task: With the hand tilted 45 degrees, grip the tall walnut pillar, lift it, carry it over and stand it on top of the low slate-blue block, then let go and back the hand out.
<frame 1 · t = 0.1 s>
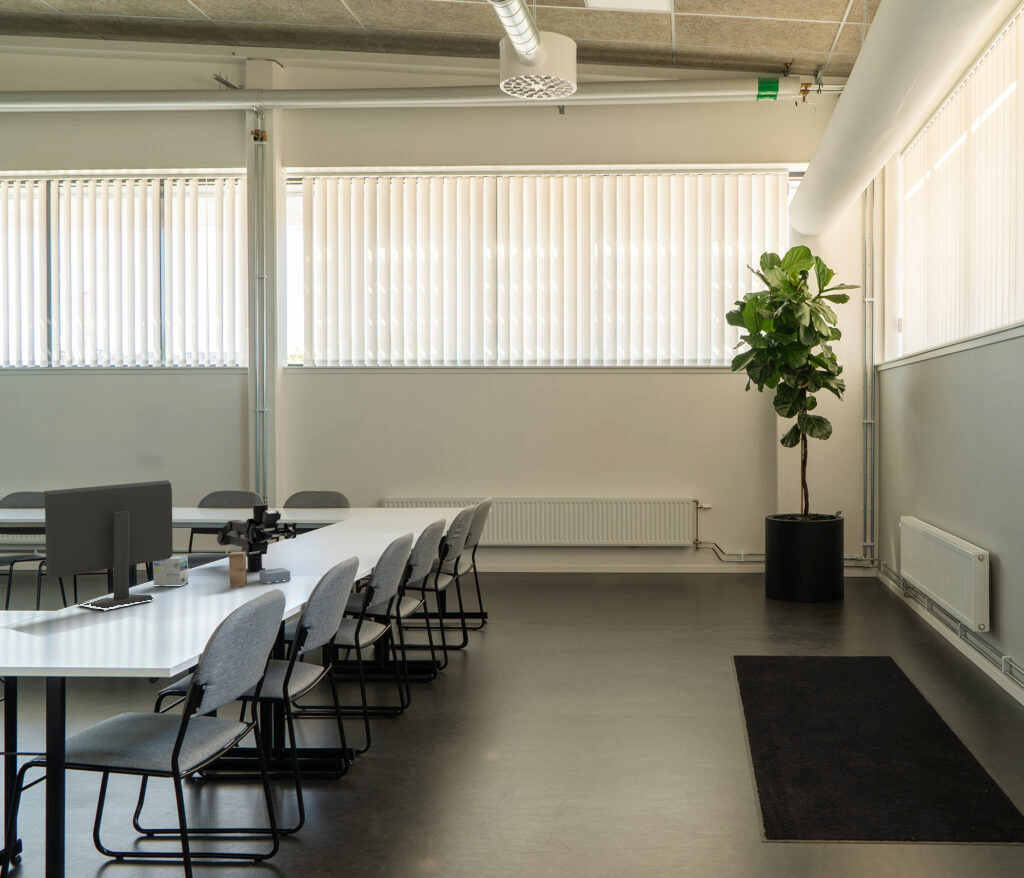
hand: (283, 534, 343), 17 cm above the table, tool horizontal, fingers open, 9 cm apart
walnut pillar: (238, 585, 330), on the table
light bulb box: (171, 586, 334), on the table
slate-blue block: (275, 581, 339), on the table
computer monitor: (115, 604, 303), on the table
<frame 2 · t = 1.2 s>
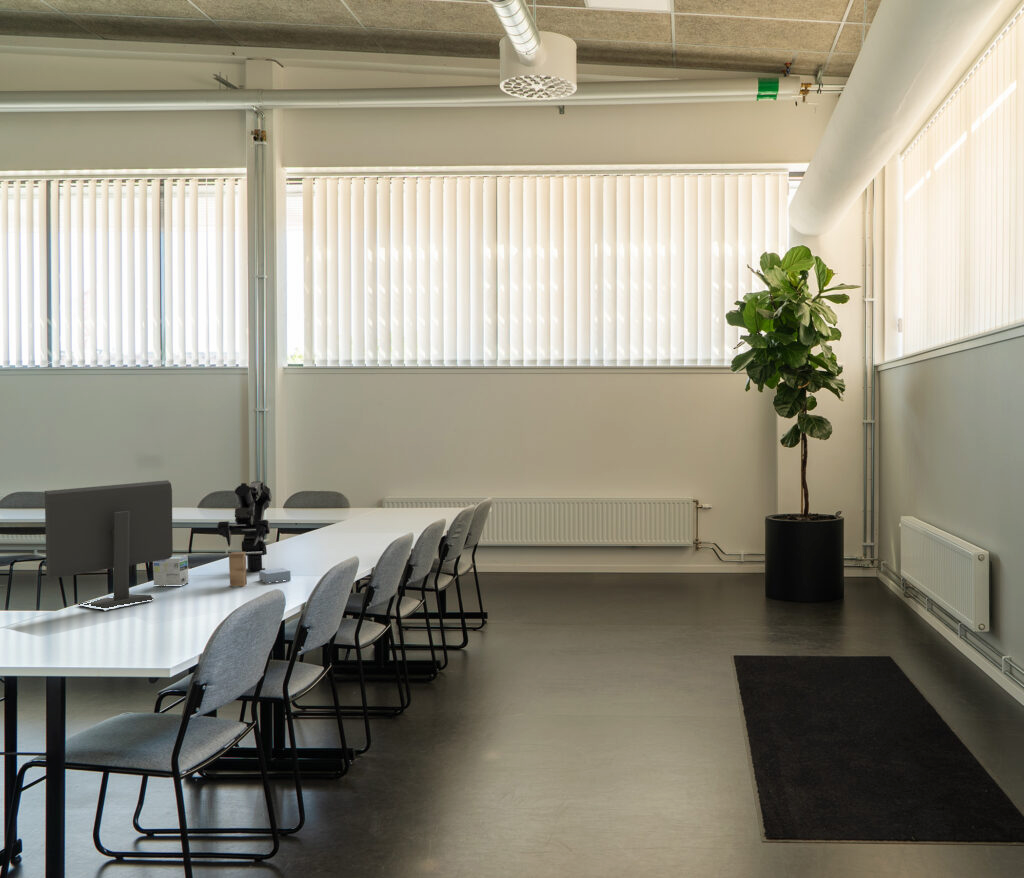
hand: (241, 545, 338), 14 cm above the table, tool tilted 45°, fingers open, 9 cm apart
nothing on the table moved.
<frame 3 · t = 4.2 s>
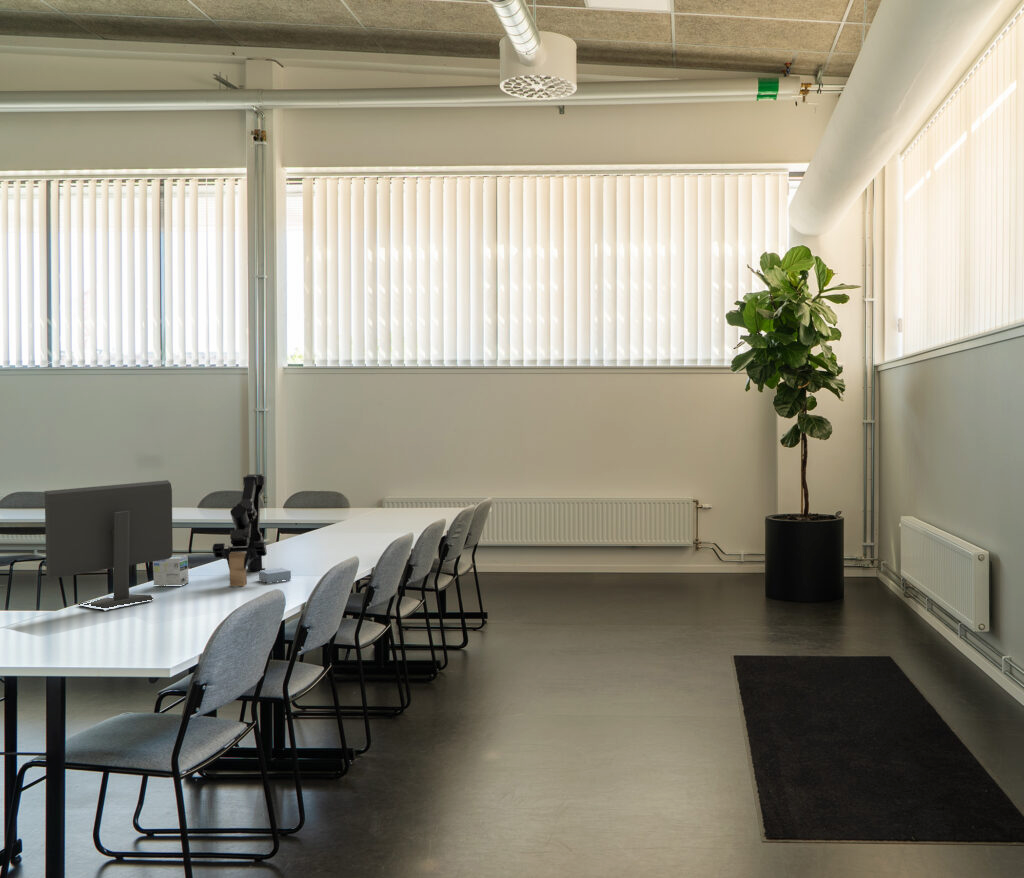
hand: (237, 568, 329), 7 cm above the table, tool tilted 45°, fingers closed on walnut pillar, 5 cm apart
walnut pillar: (238, 585, 330), on the table, touching gripper
everything else where it was.
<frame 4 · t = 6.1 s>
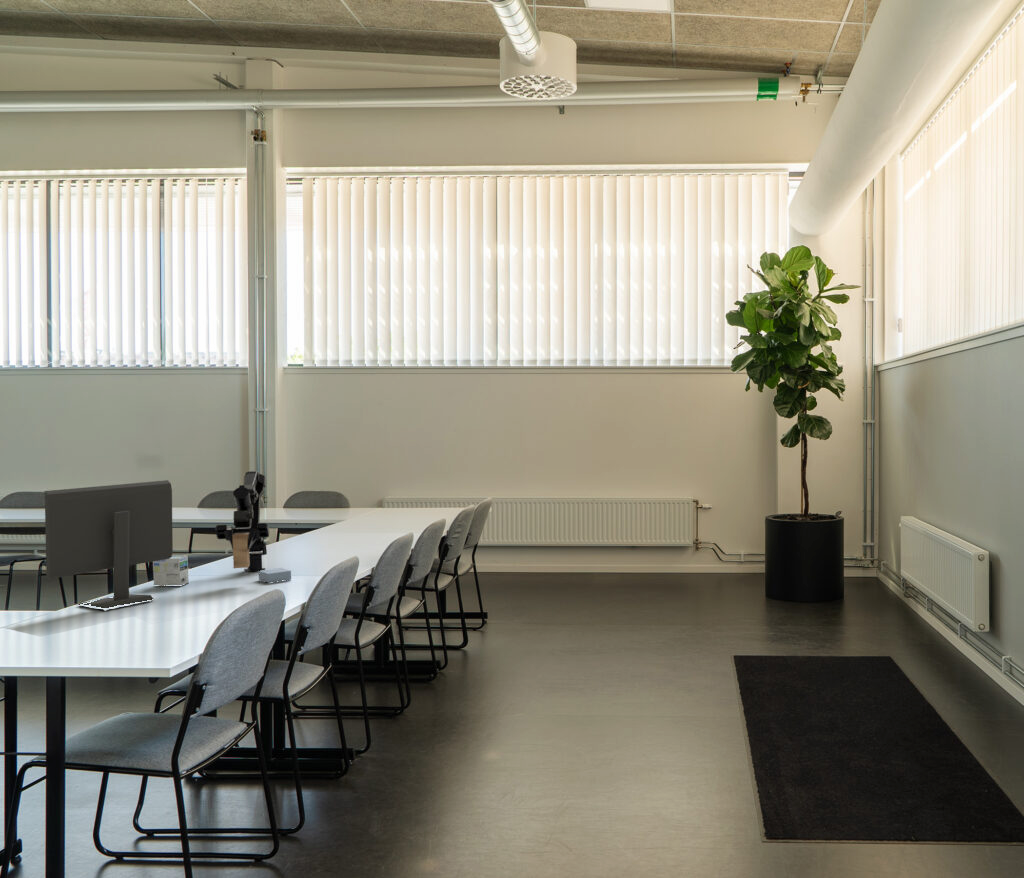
hand: (240, 549, 329), 13 cm above the table, tool tilted 45°, fingers closed on walnut pillar, 5 cm apart
walnut pillar: (241, 566, 331), point 7 cm above the table, touching gripper
everything else where it was.
when the fingers open (11 cm above the table, at t = 8.2 s): walnut pillar drops 1 cm, point 4 cm above the table.
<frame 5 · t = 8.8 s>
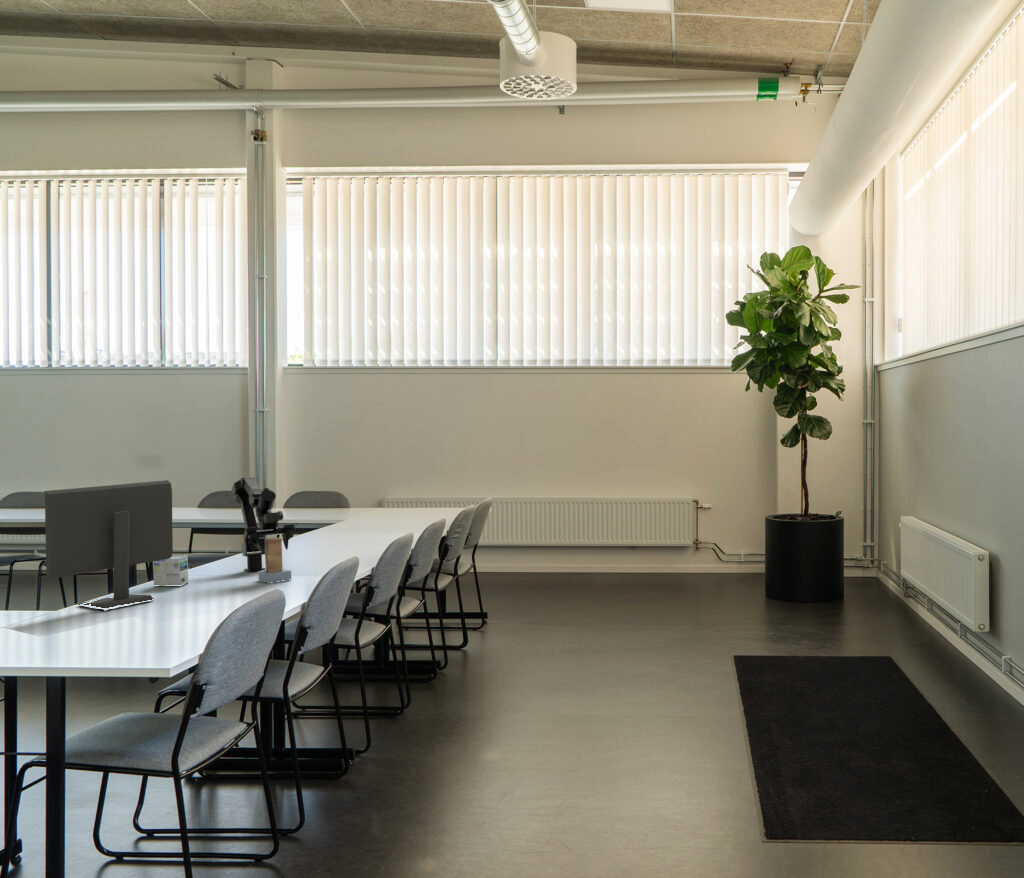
hand: (275, 550, 337), 12 cm above the table, tool tilted 45°, fingers open, 9 cm apart
walnut pillar: (274, 570, 339), point 4 cm above the table
everything else where it was.
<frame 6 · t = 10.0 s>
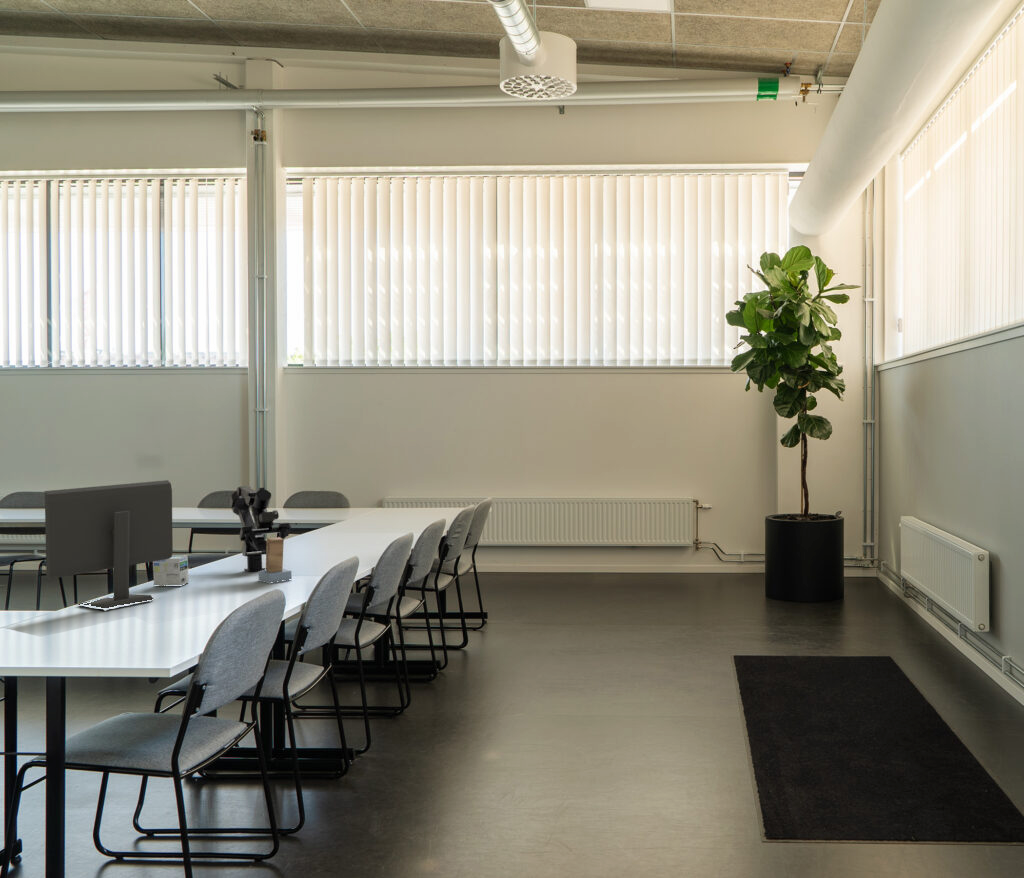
hand: (270, 548, 342), 11 cm above the table, tool tilted 45°, fingers open, 9 cm apart
walnut pillar: (273, 570, 339), point 4 cm above the table, touching slate-blue block
slate-blue block: (275, 581, 339), on the table, touching walnut pillar
everything else where it was.
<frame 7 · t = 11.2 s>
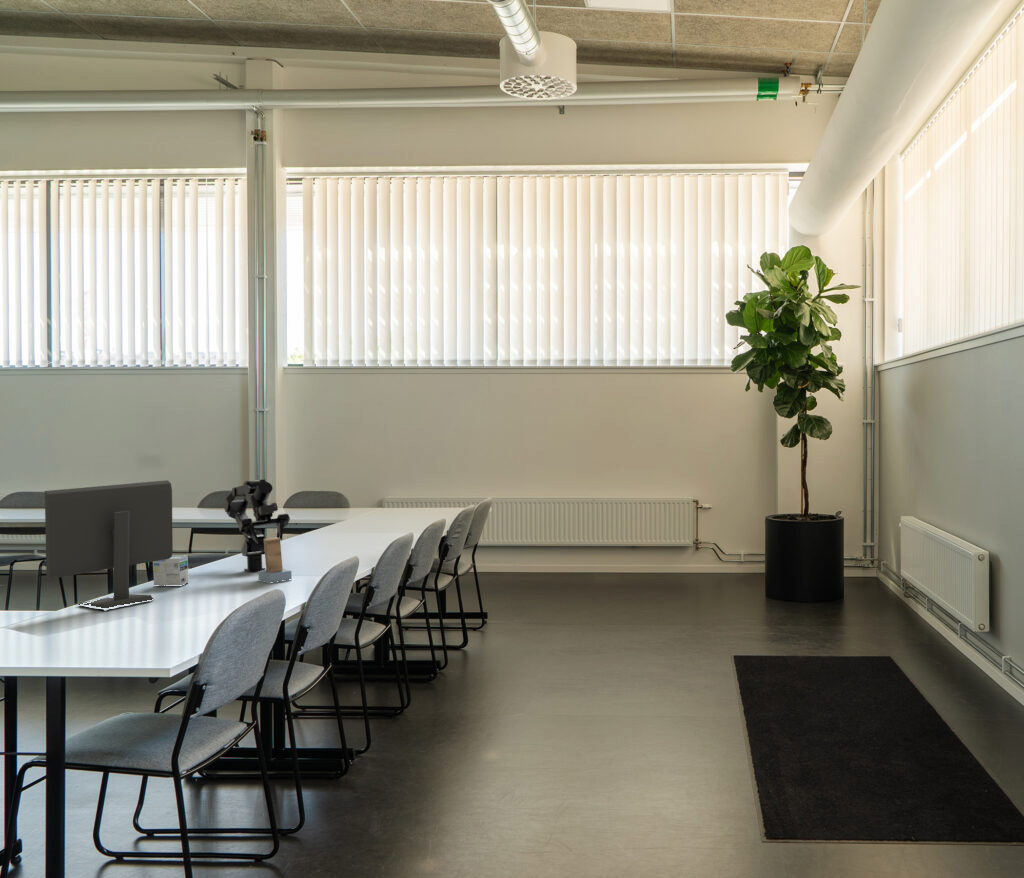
hand: (269, 541, 348), 13 cm above the table, tool tilted 35°, fingers open, 9 cm apart
walnut pillar: (274, 570, 339), point 4 cm above the table
slate-blue block: (275, 581, 339), on the table
everything else where it was.
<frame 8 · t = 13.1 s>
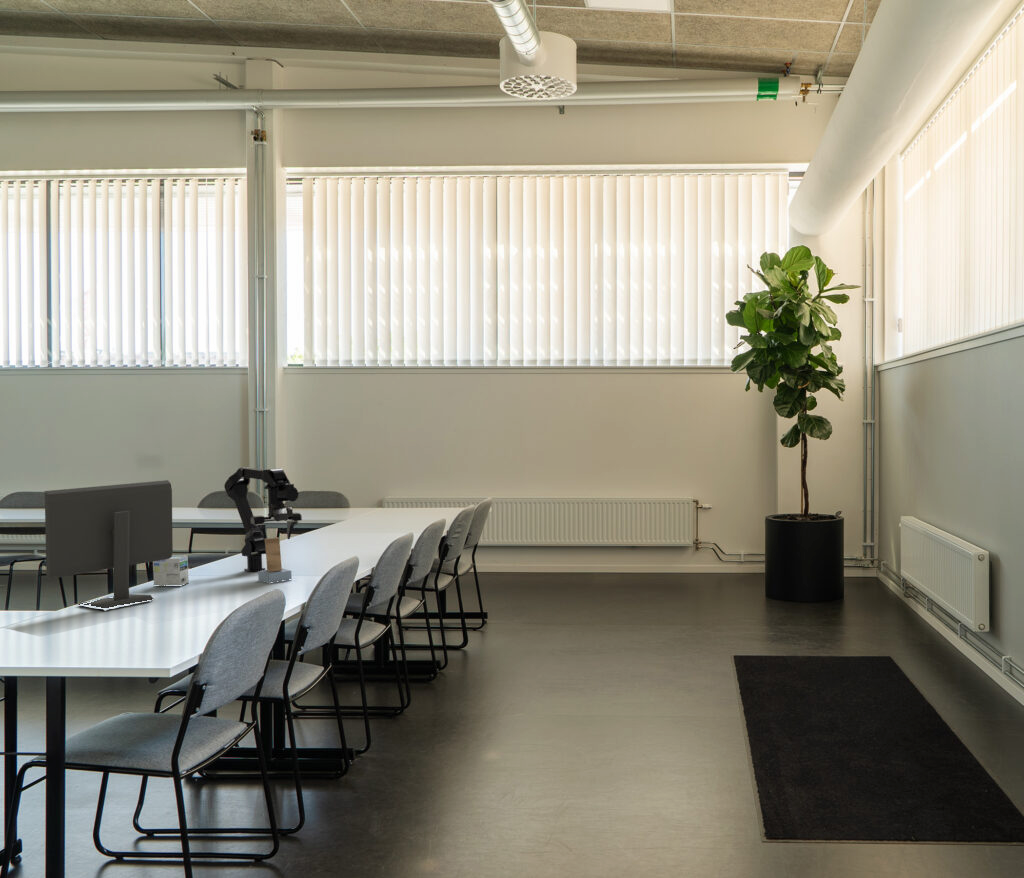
hand: (277, 540, 354), 13 cm above the table, tool pointing down, fingers open, 9 cm apart
walnut pillar: (274, 570, 339), point 4 cm above the table, touching slate-blue block
slate-blue block: (275, 581, 339), on the table, touching walnut pillar
everything else where it was.
at the end: walnut pillar 0.1 cm off-centre on the slate-blue block, point 4.2 cm above the slate-blue block's base; walnut pillar tilted 3°; the gripper is holding nothing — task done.
